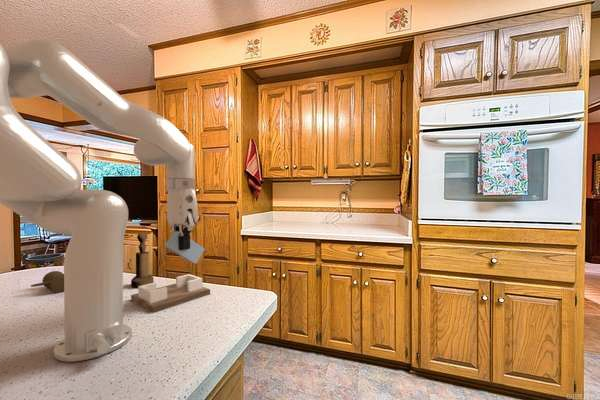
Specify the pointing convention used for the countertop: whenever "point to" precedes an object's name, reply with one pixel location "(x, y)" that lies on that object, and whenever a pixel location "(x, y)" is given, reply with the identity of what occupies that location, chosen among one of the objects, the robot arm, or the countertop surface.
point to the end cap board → (171, 297)
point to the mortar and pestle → (142, 264)
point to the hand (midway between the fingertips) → (181, 248)
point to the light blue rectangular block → (188, 254)
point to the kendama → (53, 281)
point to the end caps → (154, 295)
